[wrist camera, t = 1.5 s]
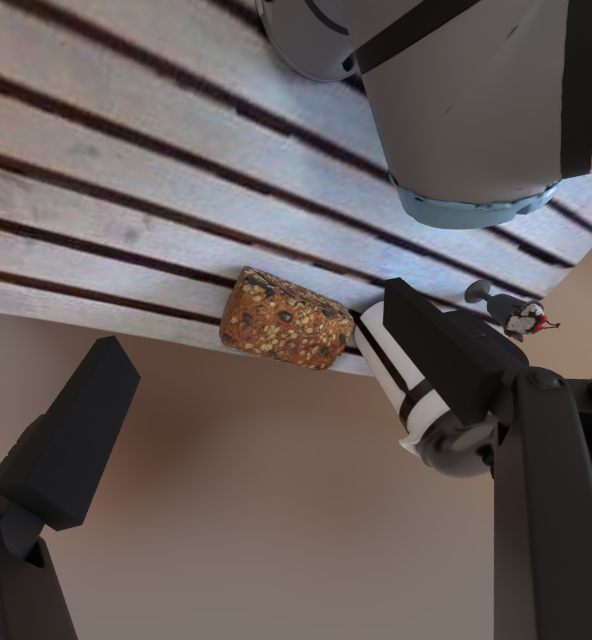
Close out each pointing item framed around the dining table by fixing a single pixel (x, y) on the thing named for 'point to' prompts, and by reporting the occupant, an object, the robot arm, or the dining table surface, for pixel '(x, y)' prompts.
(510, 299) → the sundae
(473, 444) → the coffee press
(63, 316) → the dining table surface
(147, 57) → the dining table surface
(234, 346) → the bread
